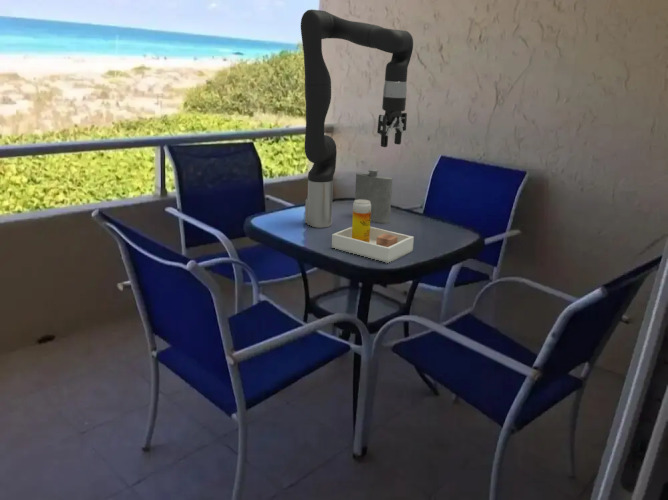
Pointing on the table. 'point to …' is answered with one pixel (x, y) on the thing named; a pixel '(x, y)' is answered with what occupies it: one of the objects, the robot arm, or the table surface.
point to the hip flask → (375, 194)
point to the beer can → (361, 220)
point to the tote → (373, 245)
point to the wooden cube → (386, 240)
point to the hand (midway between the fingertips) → (390, 145)
